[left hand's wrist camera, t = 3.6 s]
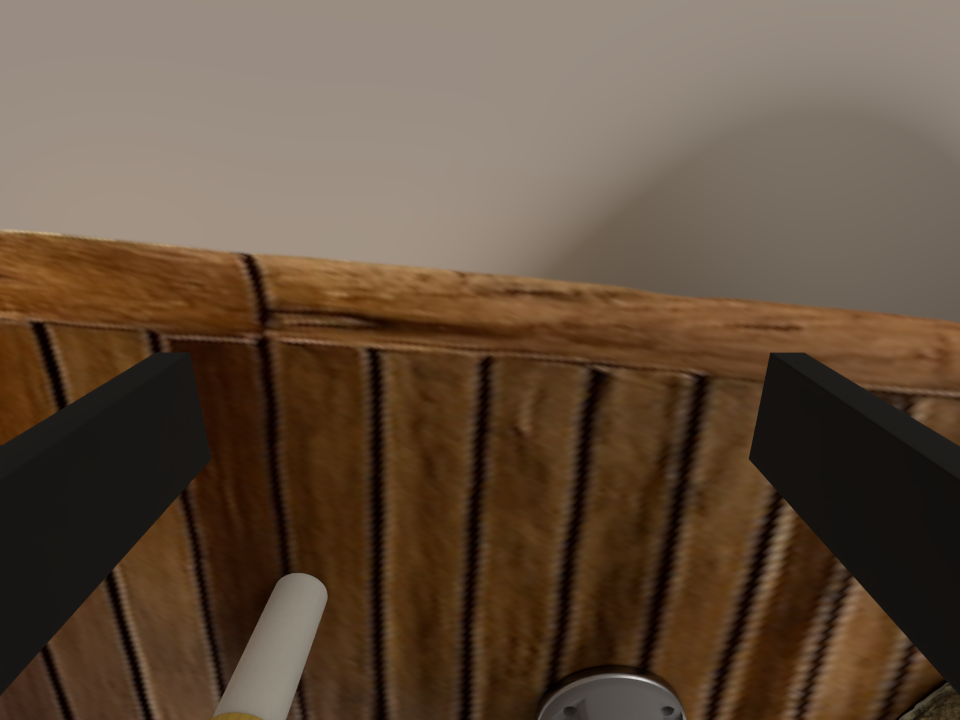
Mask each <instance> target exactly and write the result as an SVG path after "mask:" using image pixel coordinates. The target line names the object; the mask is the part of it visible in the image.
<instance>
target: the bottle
mask: <svg viewBox="0 0 960 720" xmlns="http://www.w3.org/2000/svg"><path fill="white" fill-rule="evenodd" d="M327 597H328V595H327V590H326V588H325V586H324V585H323V584H322V582H320V581H319V580H318V579H317V578H315V577H313V576H311V575H308V574H304V573H293V574H289V575H286V576H284V577H282V578H281V579H280V580H279V581H278V582H277V584H276V586H275V588H274V590H273V592H272V594H271V596H270V598H269V600H268V602H267V604H266V607H265V609H264V611H263V613H262V615H261V617H260V619H259V621H258V623H257V625H256V627H255V630H254V632H253V634H252V636H251V638H250V640H249V642H248V644H247V646H246V648H245V651H244V653H243V655H242V657H241V659H240V661H239V663H238V665H237V667H236V669H235V671H234V674H233V676H232V678H231V680H230V682H229V684H228V686H227V688H226V690H225V692H224V695H223V697H222V699H221V701H220V703H219V705H218V707H217V709H216V711H215V713H214V715H213V717H215V716H217V715H220V714H224V713H245V714H250V715H254V716H256V717H259V718H261V719H263V720H286V718H287V715H288V712H289V709H290V706H291V703H292V700H293V698H294V695H295V692H296V689H297V686H298V683H299V680H300V677H301V674H302V671H303V669H304V666H305V663H306V660H307V657H308V654H309V651H310V648H311V645H312V643H313V640H314V637H315V634H316V631H317V628H318V625H319V622H320V619H321V616H322V614H323V611H324V608H325V605H326V602H327Z"/></svg>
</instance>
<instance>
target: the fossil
mask: <svg viewBox="0 0 960 720" xmlns="http://www.w3.org/2000/svg"><path fill="white" fill-rule="evenodd" d="M899 720H960V695H959V694H958V693H957V692H956V691H955V690H954V689H953V688H952V686H951V685H950V684H949V683H948V682H947V683H945V684H944V685H943V686H942V687H941V688H939V689H938V690H936V691H934V692H933V693H932V694H931V695H929V696H928V697H927V698H925V699H924V700H923V701H921V702H920V703H918V704H917V705H916V706H915V708H914V709H913V710H911V711H910V712H908V713H906V714H905V715H903V716H902V717H901V718H900V719H899Z"/></svg>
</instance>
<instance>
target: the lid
mask: <svg viewBox="0 0 960 720" xmlns="http://www.w3.org/2000/svg"><path fill="white" fill-rule="evenodd" d="M209 720H263V719H261V718H259V717H256V716H254V715H250V714H245V713H224V714H220V715H217V716H215V717H213V718H211V719H209Z"/></svg>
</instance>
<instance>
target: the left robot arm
mask: <svg viewBox="0 0 960 720" xmlns="http://www.w3.org/2000/svg"><path fill="white" fill-rule="evenodd" d="M210 460H211V456H210V451H209V446H208V441H207V436H206V431H205V426H204V421H203V416H202V411H201V406H200V401H199V397H198V392H197V387H196V382H195V377H194V372H193V367H192V362H191V357H190V353H154V354H153V355H151V356H149V357H148V358H146V359H145V360H143V361H141V362H140V363H138V364H136V365H135V366H133V367H131V368H130V369H128V370H126V371H125V372H123V373H121V374H120V375H118V376H116V377H115V378H113V379H111V380H110V381H108V382H106V383H105V384H103V385H101V386H100V387H98V388H96V389H95V390H93V391H91V392H90V393H88V394H86V395H85V396H83V397H82V398H80V399H78V400H77V401H75V402H73V403H72V404H70V405H68V406H67V407H65V408H63V409H62V410H60V411H58V412H57V413H55V414H53V415H52V416H50V417H48V418H47V419H45V420H43V421H42V422H40V423H38V424H37V425H35V426H33V427H32V428H30V429H28V430H27V431H25V432H23V433H22V434H20V435H19V436H17V437H15V438H14V439H12V440H10V441H9V442H7V443H5V444H4V445H2V446H0V695H1V694H2V693H3V692H4V691H5V690H6V689H7V688H8V686H9V685H10V684H11V683H12V682H13V681H14V680H15V679H16V677H17V676H18V675H19V674H20V673H21V672H22V671H23V670H24V668H25V667H26V666H27V665H28V664H29V663H30V662H31V661H32V659H33V658H34V657H35V656H36V655H37V654H38V653H39V652H40V651H41V649H42V648H43V647H44V646H45V645H46V644H47V643H48V642H49V640H50V639H51V638H52V637H53V636H54V635H55V634H56V633H57V631H58V630H59V629H60V628H61V627H62V626H63V625H64V624H65V622H66V621H67V620H68V619H69V618H70V617H71V616H72V615H73V613H74V612H75V611H76V610H77V609H78V608H79V607H80V606H81V604H82V603H83V602H84V601H85V600H86V599H87V598H88V597H89V595H90V594H91V593H92V592H93V591H94V590H95V589H96V588H97V587H98V585H99V584H100V583H101V582H102V581H103V580H104V579H105V578H106V576H107V575H108V574H109V573H110V572H111V571H112V570H113V569H114V567H115V566H116V565H117V564H118V563H119V562H120V561H121V560H122V558H123V557H124V556H125V555H126V554H127V553H128V552H129V551H130V549H131V548H132V547H133V546H134V545H135V544H136V543H137V542H138V540H139V539H140V538H141V537H142V536H143V535H144V534H145V533H146V532H147V530H148V529H149V528H150V527H151V526H152V525H153V524H154V523H155V521H156V520H157V519H158V518H159V517H160V516H161V515H162V514H163V512H164V511H165V510H166V509H167V508H168V507H169V506H170V505H171V503H172V502H173V501H174V500H175V499H176V498H177V497H178V496H179V494H180V493H181V492H182V491H183V490H184V489H185V488H186V487H187V485H188V484H189V483H190V482H191V481H192V480H193V479H194V478H195V477H196V475H197V474H198V473H199V472H200V471H201V470H202V469H203V468H204V466H205V465H206V464H207V463H208V462H209V461H210ZM749 460H750V461H751V462H752V463H753V464H754V465H755V466H756V468H757V469H758V470H759V471H760V472H761V473H762V474H763V475H764V477H765V478H766V479H767V480H768V481H769V482H770V483H771V484H772V485H773V487H774V488H775V489H776V490H777V491H778V492H779V493H780V494H781V496H782V497H783V498H784V499H785V500H786V501H787V502H788V503H789V505H790V506H791V507H792V508H793V509H794V510H795V511H796V512H797V514H798V515H799V516H800V517H801V518H802V519H803V520H804V521H805V523H806V524H807V525H808V526H809V527H810V528H811V529H812V530H813V532H814V533H815V534H816V535H817V536H818V537H819V538H820V539H821V540H822V542H823V543H824V544H825V545H826V546H827V547H828V548H829V549H830V551H831V552H832V553H833V554H834V555H835V556H836V557H837V558H838V560H839V561H840V562H841V563H842V564H843V565H844V566H845V567H846V569H847V570H848V571H849V572H850V573H851V574H852V575H853V576H854V578H855V579H856V580H857V581H858V582H859V583H860V584H861V585H862V587H863V588H864V589H865V590H866V591H867V592H868V593H869V594H870V596H871V597H872V598H873V599H874V600H875V601H876V602H877V603H878V604H879V606H880V607H881V608H882V609H883V610H884V611H885V612H886V613H887V615H888V616H889V617H890V618H891V619H892V620H893V621H894V622H895V624H896V625H897V626H898V627H899V628H900V629H901V630H902V631H903V633H904V634H905V635H906V636H907V637H908V638H909V639H910V640H911V642H912V643H913V644H914V645H915V646H916V647H917V648H918V649H919V651H920V652H921V653H922V654H923V655H924V656H925V657H926V658H927V659H928V661H929V662H930V663H931V664H932V665H933V666H934V667H935V668H936V670H937V671H938V672H939V673H940V674H941V675H942V676H943V677H944V679H945V680H946V681H947V682H948V683H949V684H950V685H951V686H952V688H953V689H954V690H955V691H956V692H957V693H958V694H959V695H960V446H958V445H956V444H955V443H953V442H951V441H950V440H948V439H946V438H945V437H943V436H941V435H940V434H938V433H937V432H935V431H933V430H932V429H930V428H928V427H927V426H925V425H923V424H922V423H920V422H918V421H917V420H915V419H913V418H912V417H910V416H908V415H907V414H905V413H903V412H902V411H900V410H898V409H897V408H895V407H893V406H892V405H890V404H888V403H887V402H885V401H883V400H882V399H880V398H878V397H877V396H875V395H874V394H872V393H870V392H869V391H867V390H865V389H864V388H862V387H860V386H859V385H857V384H855V383H854V382H852V381H850V380H849V379H847V378H845V377H844V376H842V375H840V374H839V373H837V372H835V371H834V370H832V369H830V368H829V367H827V366H825V365H824V364H822V363H820V362H819V361H817V360H815V359H814V358H812V357H811V356H809V355H807V354H806V353H770V357H769V362H768V367H767V372H766V377H765V382H764V387H763V392H762V397H761V401H760V406H759V411H758V416H757V421H756V426H755V431H754V436H753V441H752V446H751V451H750V456H749ZM535 720H687V719H686V715H685V712H684V709H683V706H682V703H681V701H680V698H679V696H678V695H677V693H676V692H675V690H674V689H673V688H672V687H671V686H670V685H669V684H668V683H667V682H666V681H664V680H663V679H662V678H660V677H658V676H656V675H654V674H652V673H650V672H647V671H644V670H641V669H637V668H632V667H624V666H606V667H598V668H593V669H589V670H585V671H582V672H579V673H576V674H574V675H572V676H570V677H568V678H566V679H564V680H562V681H561V682H559V683H558V684H557V685H555V686H554V687H553V688H552V689H551V690H550V691H549V692H548V693H547V694H546V695H545V696H544V698H543V699H542V701H541V702H540V704H539V706H538V709H537V712H536V717H535Z"/></svg>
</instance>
